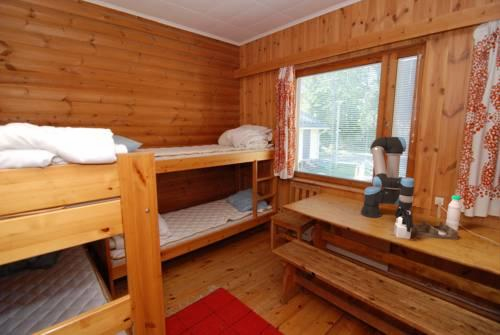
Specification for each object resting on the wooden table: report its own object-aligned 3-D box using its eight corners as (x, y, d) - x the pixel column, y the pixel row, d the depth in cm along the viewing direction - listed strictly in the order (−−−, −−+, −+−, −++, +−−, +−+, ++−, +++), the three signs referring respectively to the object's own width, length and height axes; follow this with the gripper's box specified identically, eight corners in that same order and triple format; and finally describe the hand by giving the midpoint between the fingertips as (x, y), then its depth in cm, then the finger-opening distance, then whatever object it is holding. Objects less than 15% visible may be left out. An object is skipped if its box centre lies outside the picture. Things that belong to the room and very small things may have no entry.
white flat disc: (428, 229, 169) (428, 228, 168) (441, 230, 167) (441, 229, 167) (435, 235, 161) (435, 233, 160) (449, 236, 159) (449, 234, 159)
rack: (404, 227, 176) (405, 219, 174) (440, 229, 172) (441, 221, 171) (416, 238, 158) (418, 230, 157) (457, 241, 154) (459, 232, 153)
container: (406, 234, 165) (408, 216, 162) (410, 239, 158) (412, 220, 155) (393, 232, 167) (395, 215, 165) (397, 237, 160) (399, 219, 157)
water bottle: (442, 228, 173) (447, 195, 168) (448, 226, 175) (453, 194, 171) (453, 232, 166) (459, 198, 162) (460, 230, 169) (465, 196, 164)
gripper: (391, 195, 170) (388, 223, 174) (408, 207, 146) (405, 239, 150) (403, 195, 169) (400, 224, 173) (422, 207, 145) (418, 240, 149)
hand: (402, 231), depth 161 cm, fingers open, 13 cm apart
